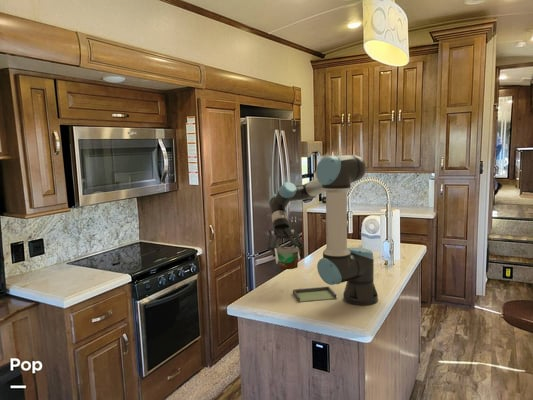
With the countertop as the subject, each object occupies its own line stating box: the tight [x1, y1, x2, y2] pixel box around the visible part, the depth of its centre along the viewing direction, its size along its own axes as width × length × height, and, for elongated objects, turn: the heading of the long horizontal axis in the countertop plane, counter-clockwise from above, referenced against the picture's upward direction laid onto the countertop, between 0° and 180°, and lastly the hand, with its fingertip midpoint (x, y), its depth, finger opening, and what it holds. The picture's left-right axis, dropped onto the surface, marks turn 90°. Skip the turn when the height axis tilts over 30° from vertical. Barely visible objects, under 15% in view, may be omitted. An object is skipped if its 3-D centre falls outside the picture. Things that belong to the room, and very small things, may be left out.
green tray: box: [292, 286, 338, 303], centre depth 190 cm, size 12×18×2 cm, turn 98°
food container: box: [275, 243, 299, 270], centre depth 192 cm, size 12×6×10 cm, turn 51°
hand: (288, 261), depth 189 cm, fingers closed on food container, 9 cm apart
